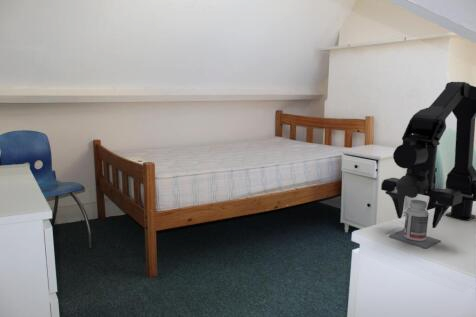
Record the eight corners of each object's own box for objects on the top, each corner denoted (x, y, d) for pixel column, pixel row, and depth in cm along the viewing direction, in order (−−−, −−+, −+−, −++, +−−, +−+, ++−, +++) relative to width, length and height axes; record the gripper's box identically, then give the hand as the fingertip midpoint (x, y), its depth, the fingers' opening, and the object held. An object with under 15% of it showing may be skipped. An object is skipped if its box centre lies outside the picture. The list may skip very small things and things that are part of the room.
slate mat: (404, 230, 114) (404, 229, 114) (440, 241, 107) (440, 240, 106) (388, 236, 109) (388, 235, 109) (425, 249, 101) (426, 247, 101)
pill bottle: (430, 239, 107) (434, 202, 105) (417, 243, 104) (421, 205, 102) (411, 232, 111) (415, 197, 110) (399, 236, 108) (402, 200, 107)
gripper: (372, 161, 106) (367, 219, 109) (446, 174, 92) (438, 240, 95) (394, 157, 113) (389, 211, 116) (466, 168, 99) (458, 230, 102)
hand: (416, 222), depth 107 cm, fingers open, 9 cm apart
